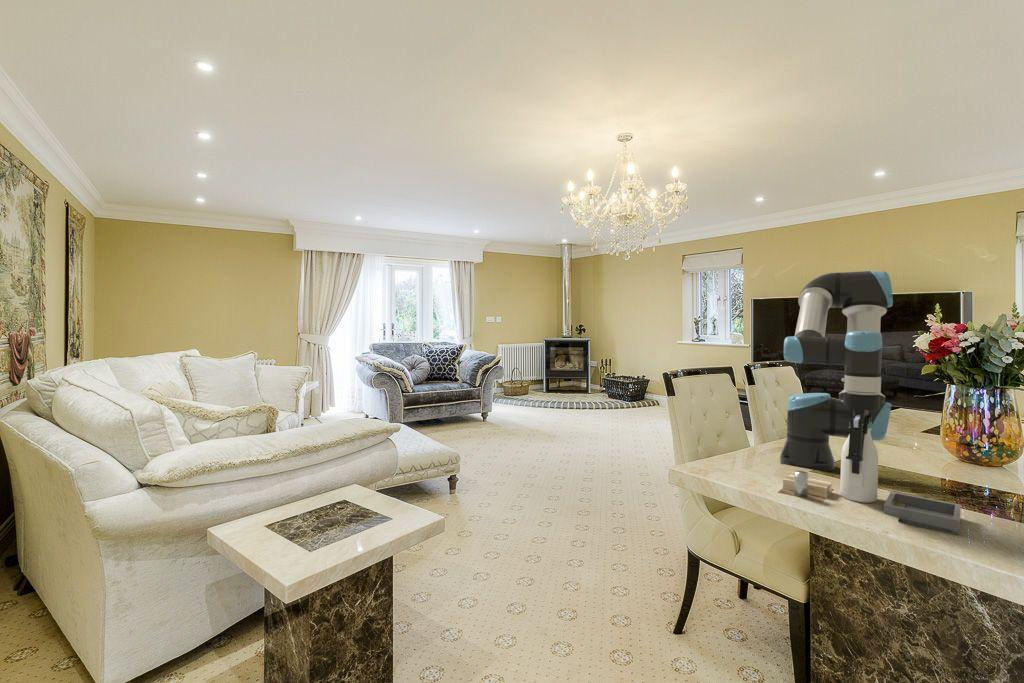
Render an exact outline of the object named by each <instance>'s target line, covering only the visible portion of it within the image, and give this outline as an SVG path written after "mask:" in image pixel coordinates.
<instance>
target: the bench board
mask: <svg viewBox="0 0 1024 683" xmlns="http://www.w3.org/2000/svg"><path fill="white" fill-rule="evenodd" d="M834 490H835V489H834V488H832V492H833V491H834ZM778 493H779V494H783V495H788V496H792V497H797V496H795V495H794V491H793V490H788V489H784V488H783V487H782V488H781V489H780V490H779V491H777V494H778ZM797 498H798V497H797ZM799 498H800V499H801V498H802V497H799ZM802 499H803V498H802ZM804 499H806V500H808V501H809V500H810V501H813V502H814V501H815V502H818V503H819V502H820V503H823V502H824V501H825V500H826V498H825V497H820V496H816V495H811V494H808V497H806V498H804Z"/></svg>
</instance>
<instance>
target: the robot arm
mask: <svg viewBox="0 0 1024 683" xmlns="http://www.w3.org/2000/svg"><path fill="white" fill-rule="evenodd" d="M892 288H893V287H892V282H891V277H890V275H889V273H888V272H887V271H883V270H868V271H867V270H864V271H842V272H829V273H826V274H822V275H820V276H818V277H816V278H814V279H812V280H811V281H809V282H807V284H806V285H805V286H803V288H802V290H801V291H800V292H799V295H798V299H797V301H798V306H799V307H800V308H799V312H798V318H797V322H796V325H795V326H796V327H795V331H794V332H795V333H794V335H793V336H786V337H785V338H784V340H783V359H784V361H786V362H788V363H794V364H799V365H800V364H815V365H817V364H818V365H820V364H821V365H835V366H836V365H837V366H844V377H842V378H841V382H843V389H842V390H841V391H840V392H839V393H838V398H832V396H831V394H830V393H826V392H808V393H807V392H806V393H797V394H793V395H791V396H790V397H789V398H788V399H787V408H786V410H787V417H786V418H787V420H786V421H787V424H786V441H785V442H784V445H783V447H782V450H781V453H780V455H779V463H780V464H782V465H785V466H791V467H795V468H801V469H808V470H813V471H818V472H822V473H823V472H824V473H828V472H833V471H835V470H836V461H835V458H834V455H833V452H832V450H831V446H830V436H831V437H840V438H846V439H847V438H848V436H849V434H850V437H849V453H848V456H846V459H850V464H849V485H852V486H857V487H863V461H862V460H863V458H862V457H863V447H864V436H865V435H866V434H867V431H868V424H869V423H870V421H871V422H872V428H871V429H872V430H871V431H870V433H871V437H872V440H873V441H876V442H879V441H882V440H885V438H886V436H887V435H886V434H887V431H888V426H889V422H890V417H891V409H892V404H891V403H890V402H887V401H886V395H884V394H883V393H882V389H881V388H882V374H881V373H882V372H881V371H882V357H883V356H882V355H883V353H882V352H883V345H884V344H883V335H882V333H881V318H882V317H883V316H885V315H886V314H887V311H888V308H891V307H892V306H893V305H894V304H893V303H894V300H893V297H894V296H893V289H892ZM831 308H837V309H838V308H839V309H840V308H842V310H841V313H842V314H843V315H844V316H845V317H846V318H847V321H846V322H847V325H846V328H847V329H846V334H845V337H841V336H840V337H839V336H838V337H837V336H836V337H834V336H833V337H831V336H825V335H826V328H827V322H828V320H827V319H828V314H829V313H828V312H829V309H831ZM864 427H865V428H864ZM863 429H864V430H863ZM855 454H857V455H855Z"/></svg>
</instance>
